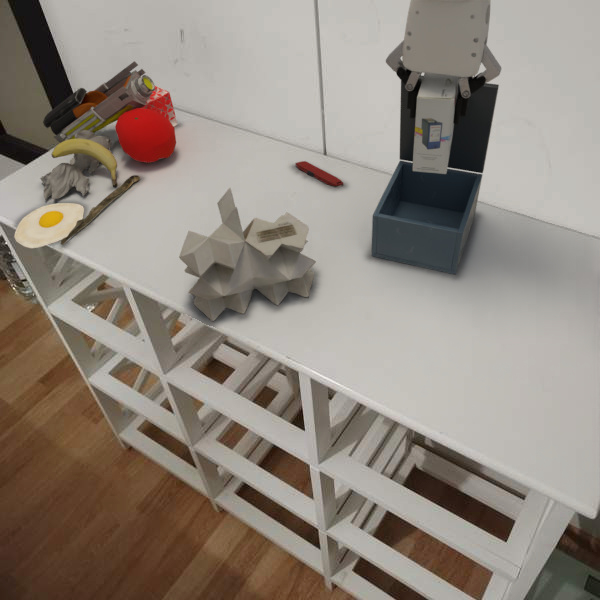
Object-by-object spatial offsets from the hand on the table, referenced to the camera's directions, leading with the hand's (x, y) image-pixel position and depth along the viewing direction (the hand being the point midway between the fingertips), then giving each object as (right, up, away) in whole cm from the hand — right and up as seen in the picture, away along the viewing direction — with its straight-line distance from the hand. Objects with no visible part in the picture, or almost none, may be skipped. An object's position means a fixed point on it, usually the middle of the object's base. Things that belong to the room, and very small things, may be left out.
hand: (436, 115), depth 80 cm
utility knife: (-15, -1, +32) cm, 35 cm away
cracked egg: (-67, -12, +28) cm, 73 cm away
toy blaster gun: (-62, +11, +37) cm, 73 cm away
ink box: (+1, -5, +5) cm, 7 cm away
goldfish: (-61, -2, +39) cm, 73 cm away
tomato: (-52, +11, +33) cm, 62 cm away
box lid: (+3, +1, +9) cm, 10 cm away
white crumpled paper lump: (-26, -25, +5) cm, 36 cm away
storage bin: (+2, -15, +18) cm, 24 cm away
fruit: (-62, +2, +35) cm, 71 cm away
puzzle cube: (-56, +18, +48) cm, 76 cm away
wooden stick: (-57, -9, +30) cm, 65 cm away
